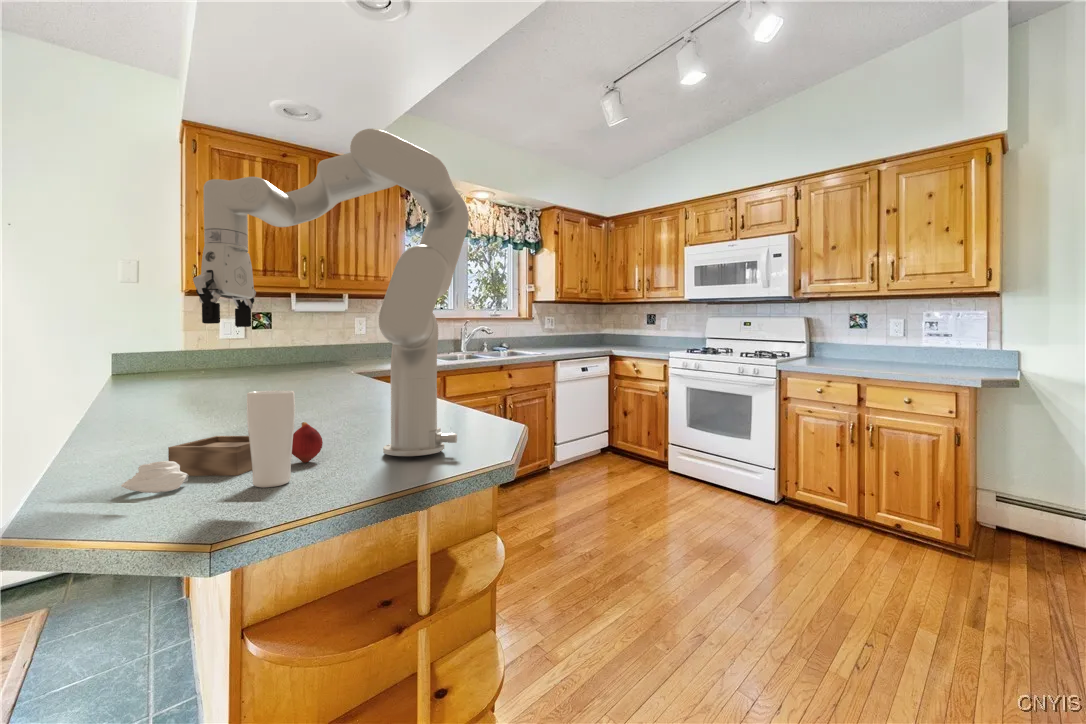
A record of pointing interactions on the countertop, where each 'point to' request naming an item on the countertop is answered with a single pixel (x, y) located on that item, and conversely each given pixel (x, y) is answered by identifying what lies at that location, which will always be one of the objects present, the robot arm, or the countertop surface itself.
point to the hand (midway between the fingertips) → (228, 325)
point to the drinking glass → (271, 436)
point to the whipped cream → (157, 478)
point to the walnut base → (213, 456)
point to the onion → (306, 443)
